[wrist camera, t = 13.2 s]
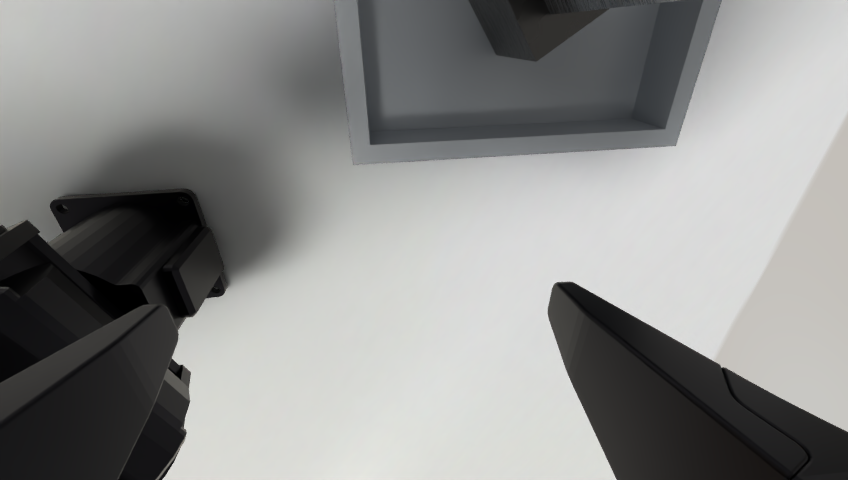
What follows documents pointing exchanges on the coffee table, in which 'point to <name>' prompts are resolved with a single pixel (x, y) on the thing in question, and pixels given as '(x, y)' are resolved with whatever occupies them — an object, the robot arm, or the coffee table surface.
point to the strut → (539, 22)
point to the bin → (514, 81)
